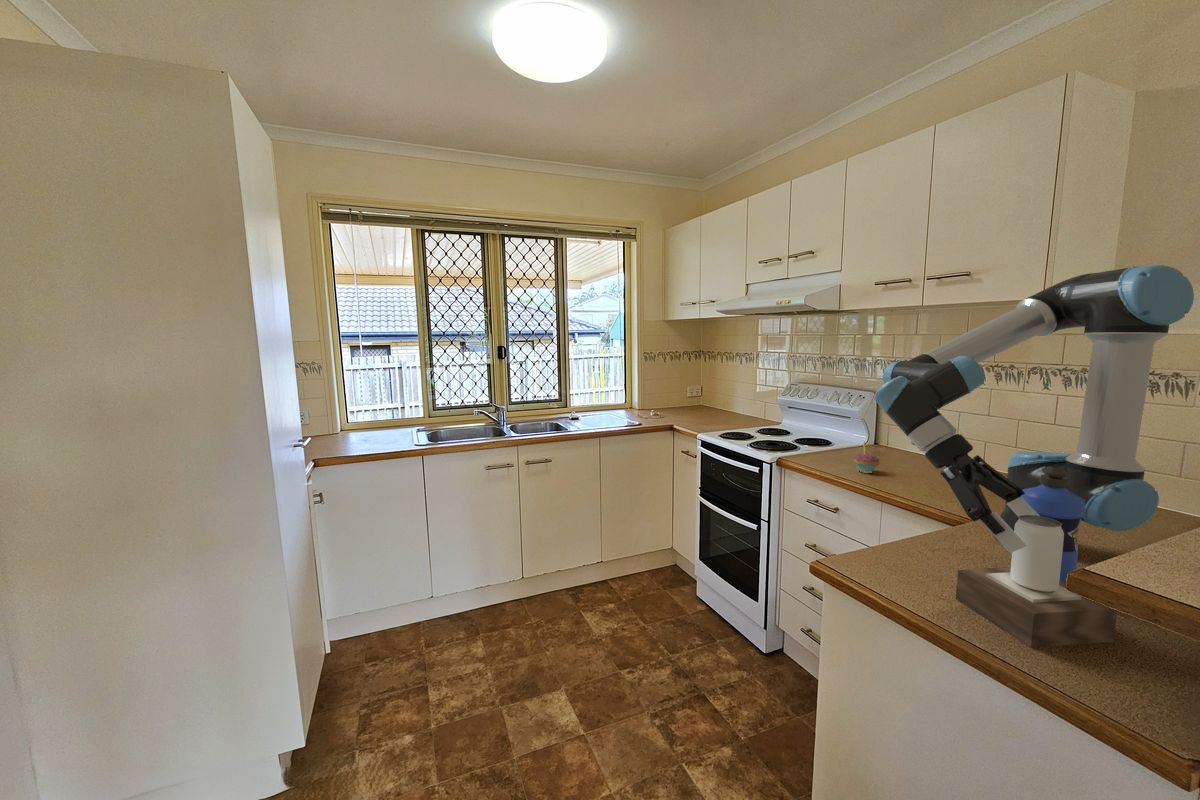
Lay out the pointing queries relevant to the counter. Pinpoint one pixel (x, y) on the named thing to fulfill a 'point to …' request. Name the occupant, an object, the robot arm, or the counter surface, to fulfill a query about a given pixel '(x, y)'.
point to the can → (1038, 553)
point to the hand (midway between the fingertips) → (1031, 539)
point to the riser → (1035, 610)
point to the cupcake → (866, 461)
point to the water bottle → (1059, 511)
